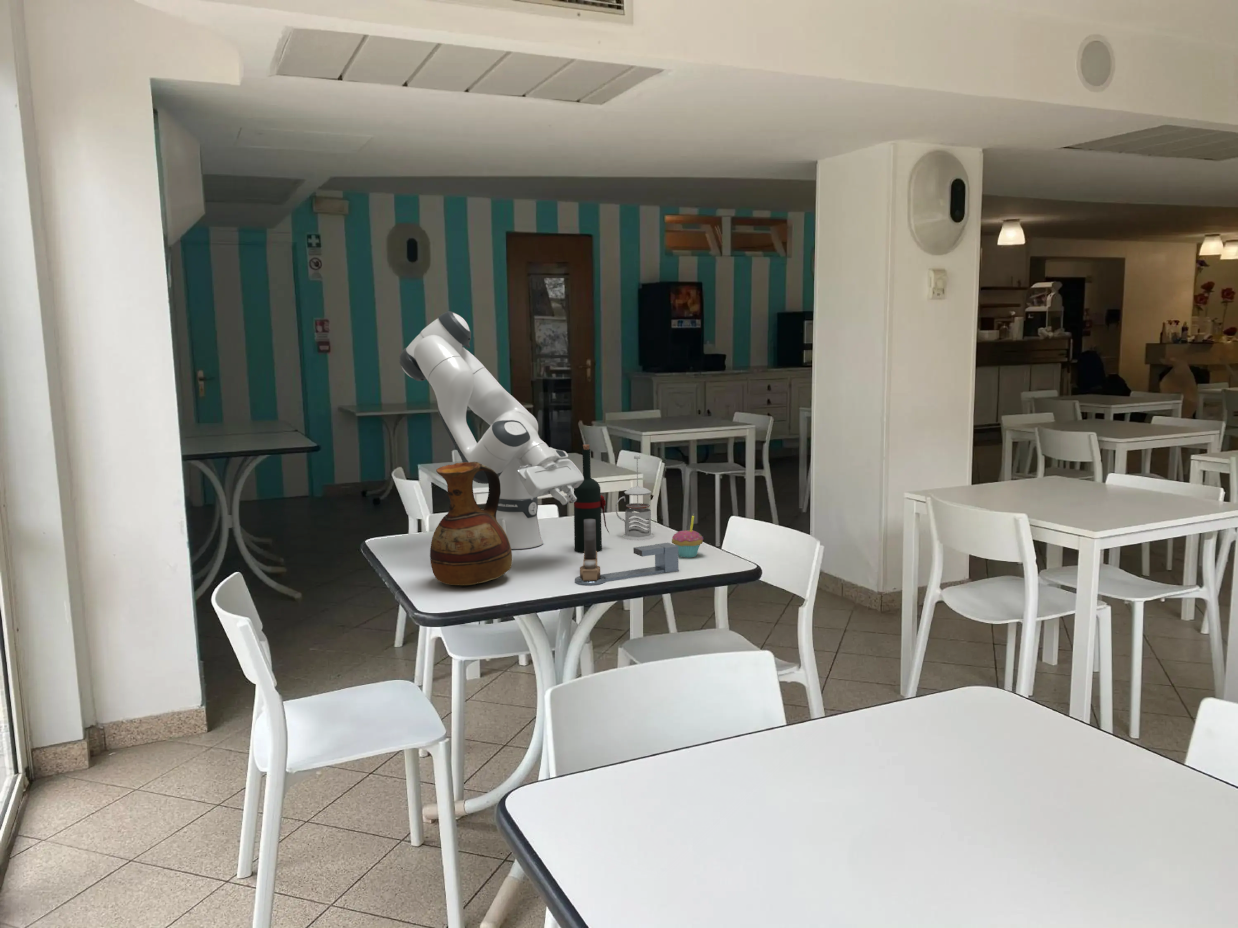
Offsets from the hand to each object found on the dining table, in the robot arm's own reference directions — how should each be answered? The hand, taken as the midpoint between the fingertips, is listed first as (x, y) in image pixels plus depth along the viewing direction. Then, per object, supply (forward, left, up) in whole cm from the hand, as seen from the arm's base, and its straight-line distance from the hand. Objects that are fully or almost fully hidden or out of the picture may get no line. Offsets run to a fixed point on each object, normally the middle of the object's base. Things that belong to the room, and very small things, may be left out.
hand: (570, 502), depth 241 cm
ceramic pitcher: (-13, -23, -18) cm, 32 cm away
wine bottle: (-8, +20, -18) cm, 28 cm away
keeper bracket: (+17, 0, -17) cm, 24 cm away
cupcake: (+19, +27, -18) cm, 38 cm away
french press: (-7, +41, -18) cm, 45 cm away
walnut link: (+8, -3, -16) cm, 18 cm away
